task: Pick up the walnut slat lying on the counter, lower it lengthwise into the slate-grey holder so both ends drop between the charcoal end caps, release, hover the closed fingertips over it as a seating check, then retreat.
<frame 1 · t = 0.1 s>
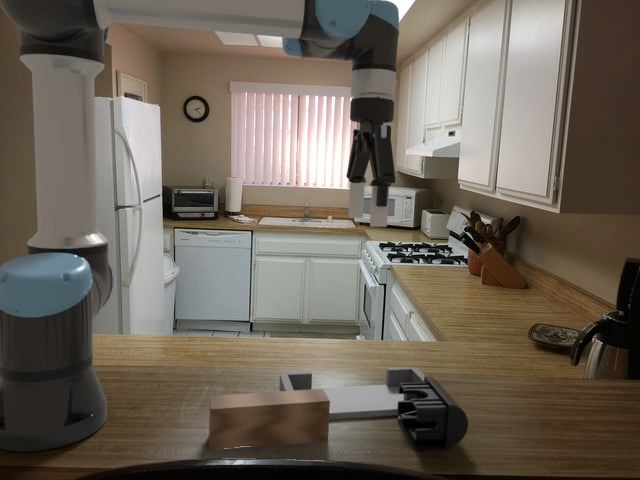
hand: (366, 221, 94), 28 cm above the counter, fingers open, 13 cm apart
end cap: (429, 435, 77), on the counter
holder: (355, 404, 85), on the counter
slat: (268, 439, 74), on the counter
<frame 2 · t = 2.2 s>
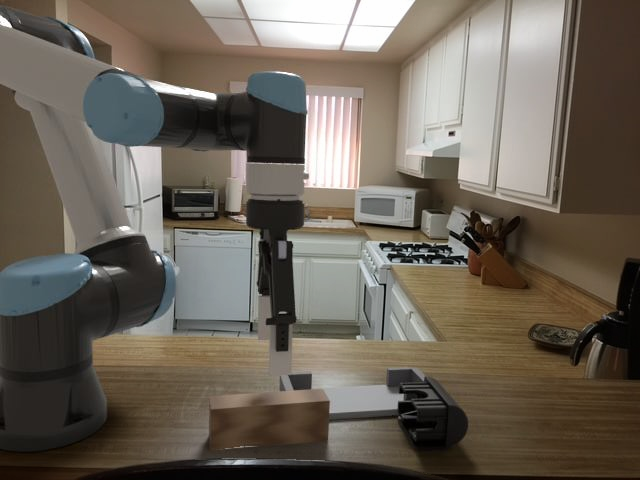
hand: (273, 355, 72), 12 cm above the counter, fingers open, 13 cm apart
nothing on the counter moved.
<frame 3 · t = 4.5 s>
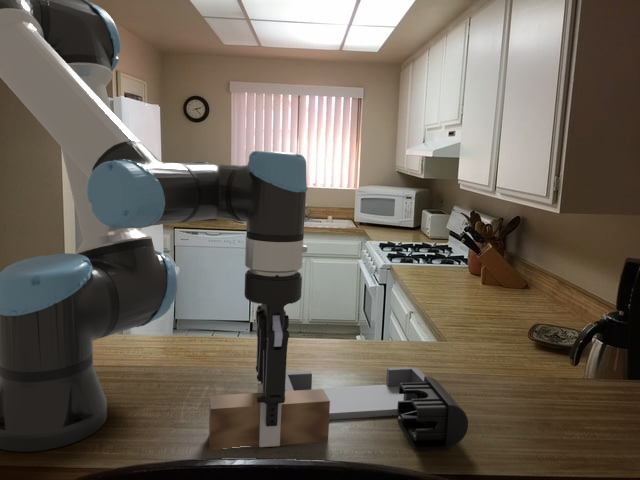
hand: (267, 435, 74), 0 cm above the counter, fingers closed on slat, 4 cm apart
slat: (268, 439, 74), on the counter, touching gripper
everything else where it was.
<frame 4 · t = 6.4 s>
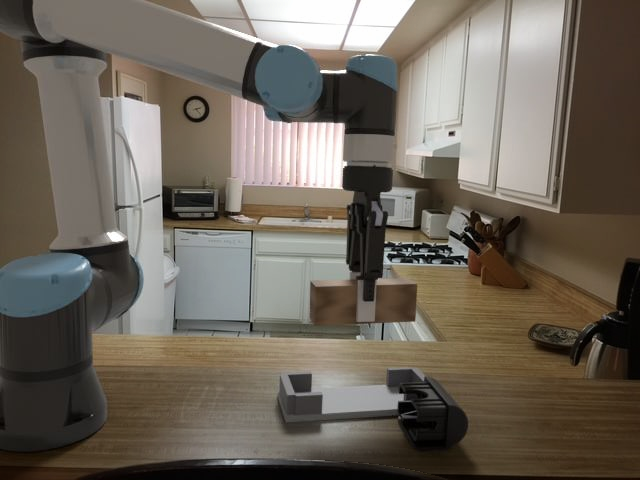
hand: (360, 316, 83), 15 cm above the counter, fingers closed on slat, 4 cm apart
slat: (362, 319, 83), point 14 cm above the counter, touching gripper
everything else where it was.
when the fingers open (3 cm above the counter, at t = 8.3 s): slat drops 1 cm, resting on holder.
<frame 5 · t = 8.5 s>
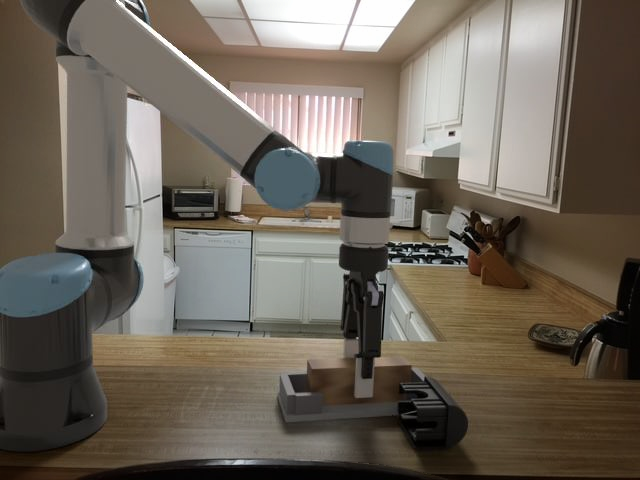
hand: (356, 386, 85), 3 cm above the counter, fingers open, 7 cm apart
slat: (357, 398, 85), point 1 cm above the counter, touching holder
everything else where it was.
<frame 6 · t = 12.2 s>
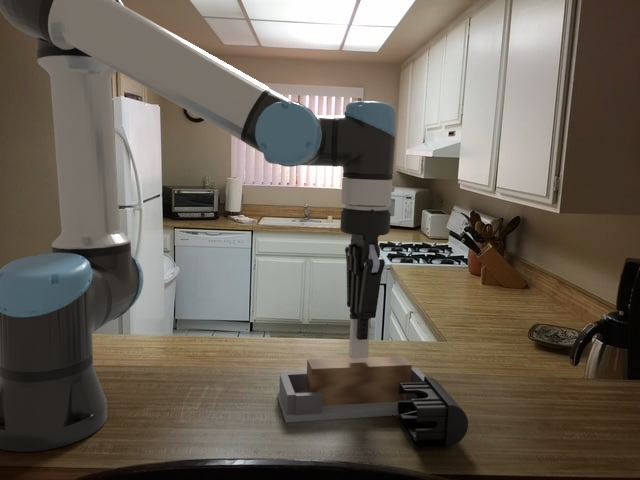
hand: (358, 356, 84), 8 cm above the counter, fingers closed
nothing on the counter moved.
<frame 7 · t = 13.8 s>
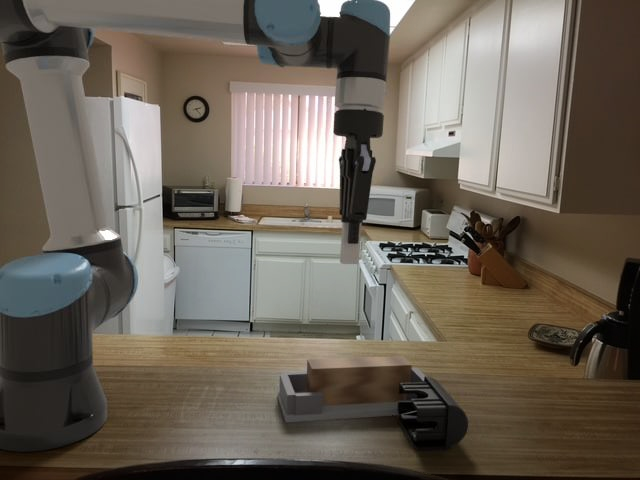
hand: (349, 263, 84), 22 cm above the counter, fingers closed
nothing on the counter moved.
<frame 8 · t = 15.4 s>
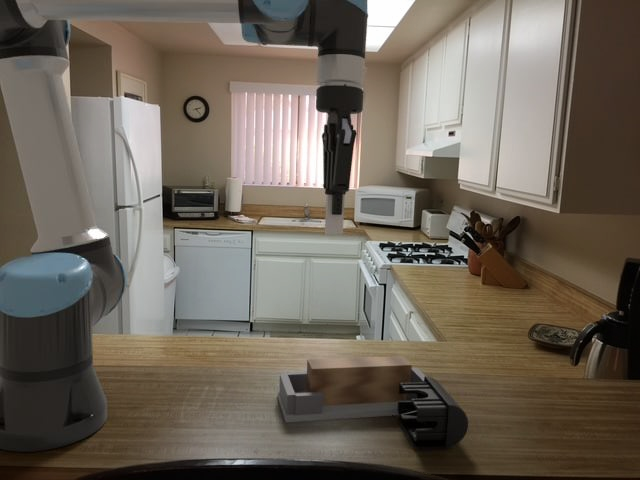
hand: (333, 233, 88), 26 cm above the counter, fingers closed
nothing on the counter moved.
at the end: slat 0.2 cm off-centre on the holder, point 1.0 cm above the holder's base; slat tilted 0°; the gripper is holding nothing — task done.
